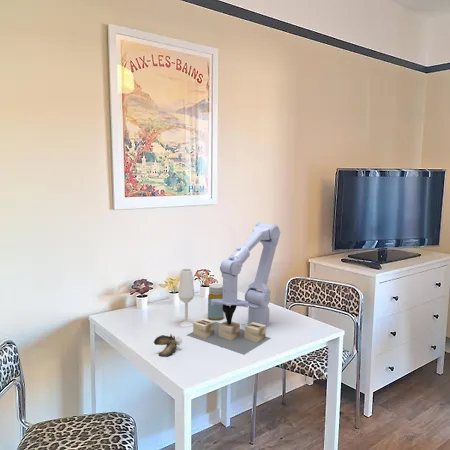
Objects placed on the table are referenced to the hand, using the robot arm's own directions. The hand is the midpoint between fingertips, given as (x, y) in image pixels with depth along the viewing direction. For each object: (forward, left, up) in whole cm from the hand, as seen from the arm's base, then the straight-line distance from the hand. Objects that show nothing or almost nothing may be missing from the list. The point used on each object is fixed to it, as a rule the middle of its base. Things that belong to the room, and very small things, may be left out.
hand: (229, 323), depth 166 cm
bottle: (-13, -17, -6) cm, 22 cm away
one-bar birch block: (-5, +9, -5) cm, 12 cm away
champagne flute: (+1, -22, -6) cm, 23 cm away
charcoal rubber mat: (0, 0, -6) cm, 6 cm away
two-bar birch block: (+5, -9, -5) cm, 12 cm away
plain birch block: (0, 0, -5) cm, 5 cm away
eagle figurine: (+24, -10, -6) cm, 27 cm away
